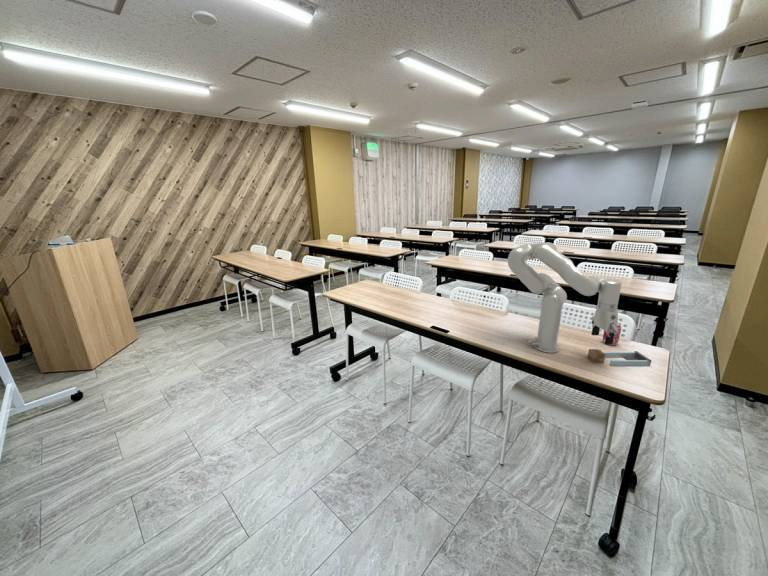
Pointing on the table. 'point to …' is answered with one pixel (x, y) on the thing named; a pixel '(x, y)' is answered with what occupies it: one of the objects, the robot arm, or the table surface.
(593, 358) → the walnut block
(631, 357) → the grey open frame
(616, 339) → the soda can
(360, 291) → the table surface
